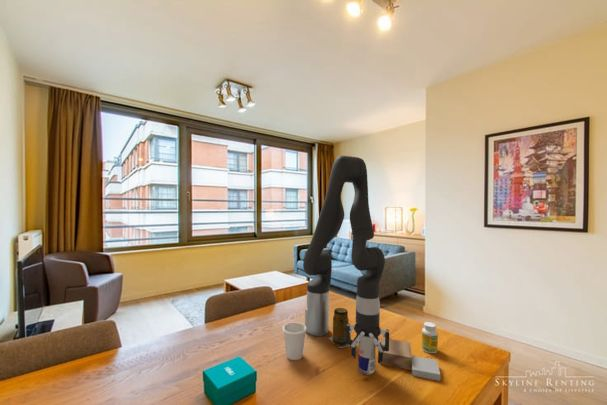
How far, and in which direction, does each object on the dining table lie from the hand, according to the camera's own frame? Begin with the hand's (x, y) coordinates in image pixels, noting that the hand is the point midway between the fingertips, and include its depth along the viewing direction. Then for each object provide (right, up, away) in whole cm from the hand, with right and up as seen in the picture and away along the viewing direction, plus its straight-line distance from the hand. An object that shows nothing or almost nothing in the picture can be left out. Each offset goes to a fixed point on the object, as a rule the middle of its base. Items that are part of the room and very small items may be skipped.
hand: (366, 359), depth 89 cm
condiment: (-6, -3, +18) cm, 19 cm away
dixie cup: (-24, -3, +8) cm, 25 cm away
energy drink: (0, -4, 0) cm, 4 cm away
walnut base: (+12, -4, +7) cm, 14 cm away
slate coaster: (+19, -4, 0) cm, 19 cm away
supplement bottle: (+26, -4, +13) cm, 29 cm away
